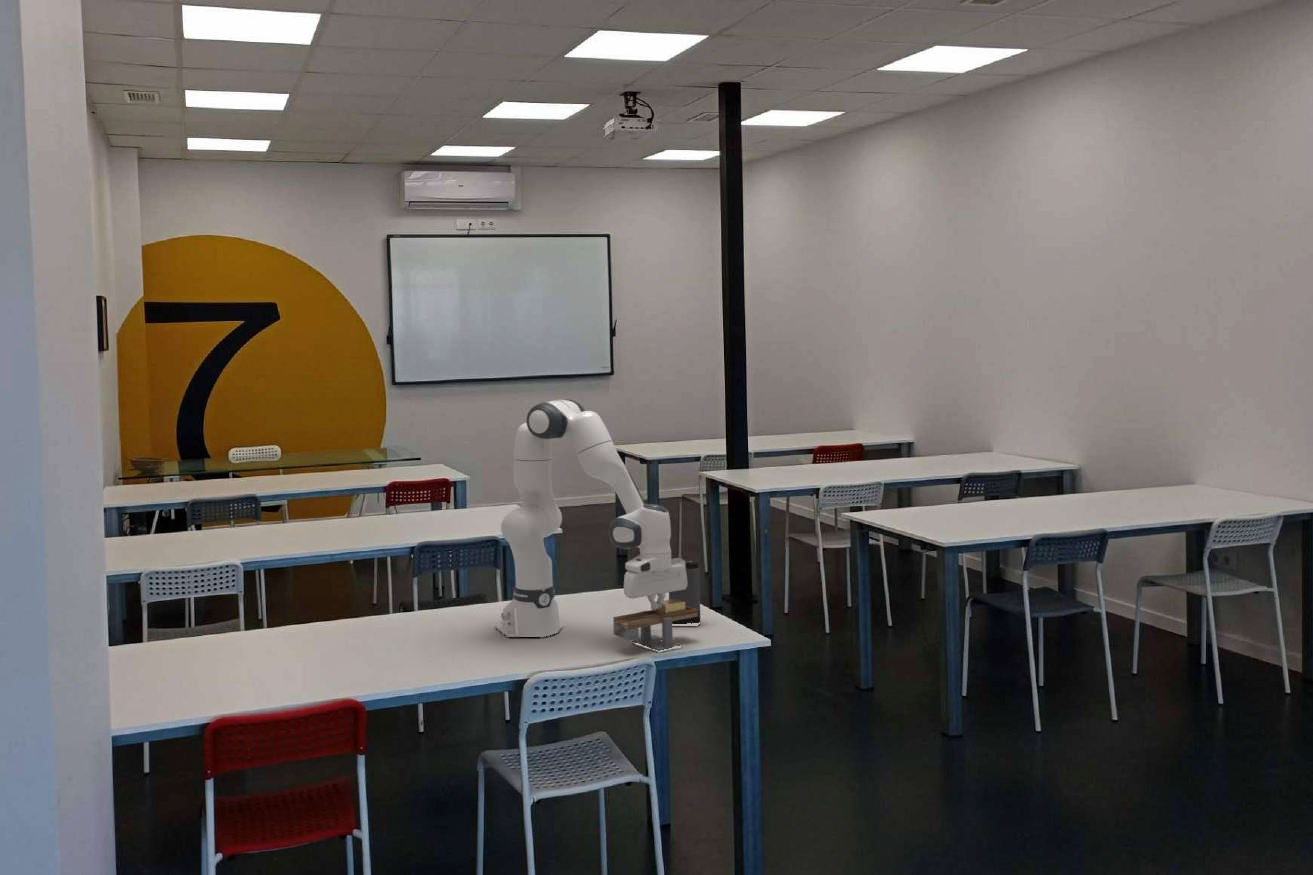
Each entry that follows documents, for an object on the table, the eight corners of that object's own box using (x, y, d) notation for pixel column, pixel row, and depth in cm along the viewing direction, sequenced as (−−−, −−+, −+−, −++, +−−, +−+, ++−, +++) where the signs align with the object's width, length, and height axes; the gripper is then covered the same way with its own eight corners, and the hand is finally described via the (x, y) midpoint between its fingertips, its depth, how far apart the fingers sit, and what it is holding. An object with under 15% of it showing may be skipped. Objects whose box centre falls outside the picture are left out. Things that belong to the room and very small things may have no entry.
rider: (655, 613, 325) (655, 601, 325) (674, 610, 329) (674, 598, 329) (665, 616, 321) (665, 604, 321) (685, 613, 325) (685, 601, 325)
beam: (613, 634, 318) (613, 617, 318) (681, 621, 332) (680, 604, 332) (629, 640, 312) (629, 622, 311) (697, 626, 326) (697, 609, 326)
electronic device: (700, 622, 349) (699, 558, 347) (699, 627, 343) (698, 562, 341) (670, 622, 350) (669, 558, 348) (669, 627, 344) (667, 562, 342)
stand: (632, 643, 325) (631, 613, 325) (654, 639, 330) (654, 608, 329) (658, 653, 315) (658, 621, 314) (681, 648, 320) (680, 616, 319)
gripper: (678, 555, 329) (679, 601, 330) (620, 564, 317) (621, 612, 319) (691, 558, 324) (692, 605, 325) (632, 567, 312) (633, 616, 313)
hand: (656, 609), depth 322 cm, fingers closed
